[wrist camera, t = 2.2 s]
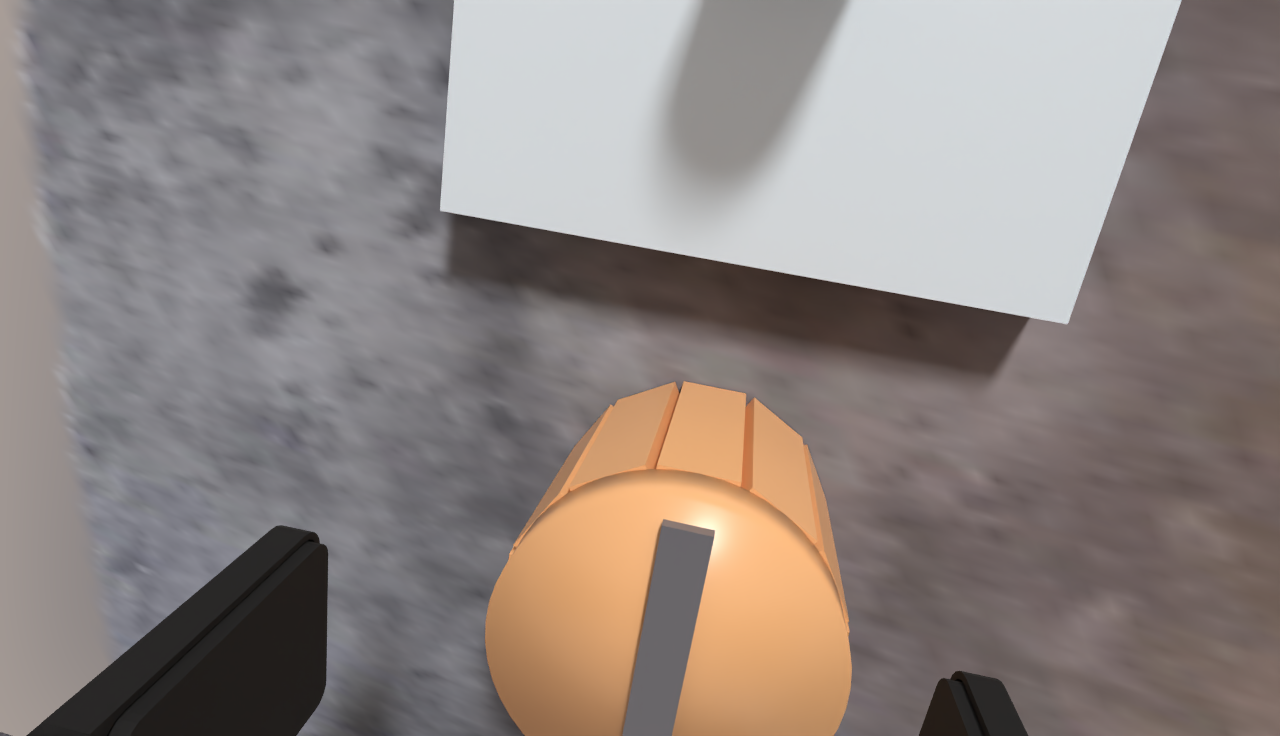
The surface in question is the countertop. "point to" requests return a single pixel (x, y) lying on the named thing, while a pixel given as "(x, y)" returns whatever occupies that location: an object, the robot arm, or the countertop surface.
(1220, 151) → the countertop surface
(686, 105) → the knob base plate
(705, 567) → the cap
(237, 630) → the robot arm
